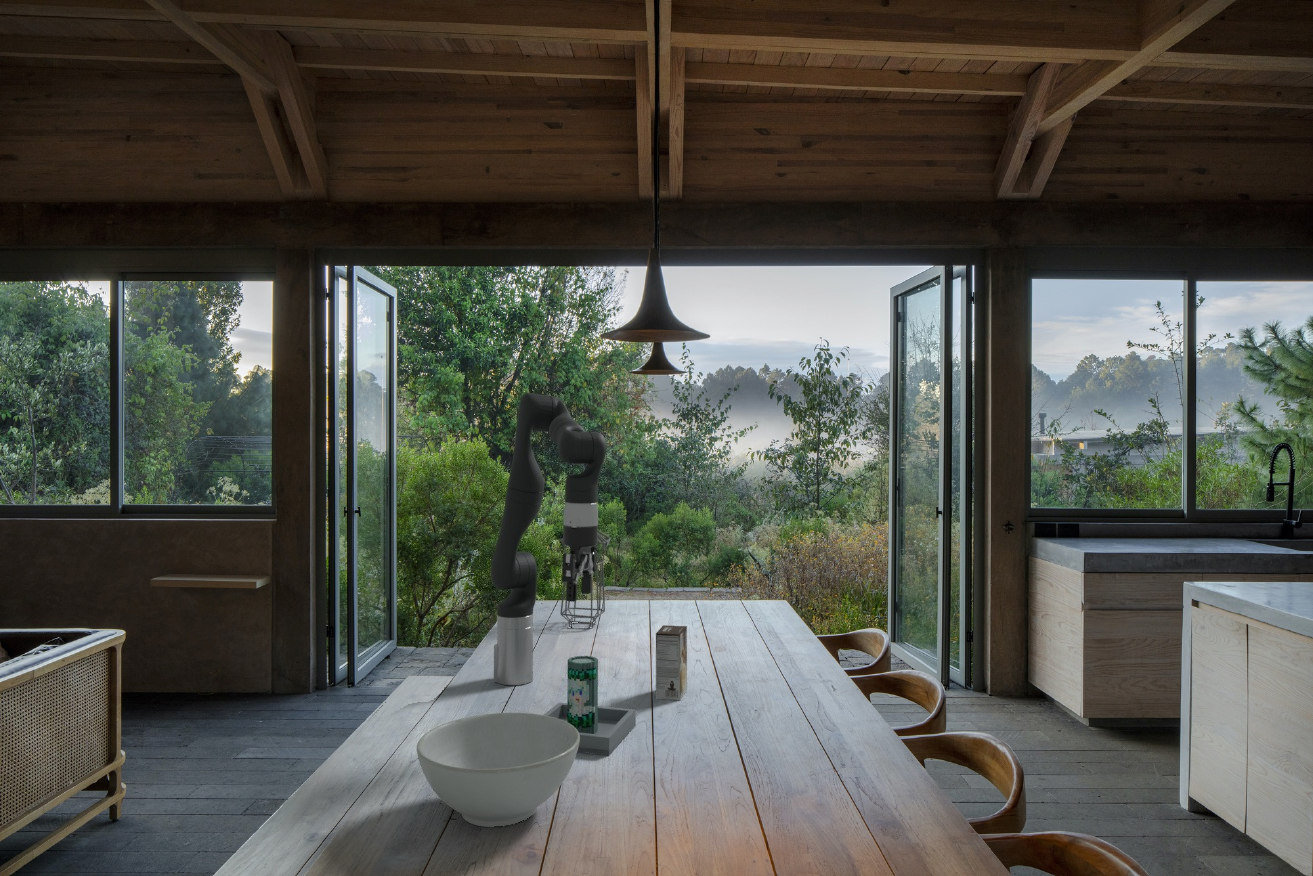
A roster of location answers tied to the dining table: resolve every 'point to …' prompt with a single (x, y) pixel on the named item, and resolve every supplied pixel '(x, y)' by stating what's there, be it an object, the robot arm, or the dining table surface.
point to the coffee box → (671, 662)
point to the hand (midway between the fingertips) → (579, 597)
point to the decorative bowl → (498, 764)
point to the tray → (601, 728)
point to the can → (583, 693)
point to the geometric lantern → (591, 588)
